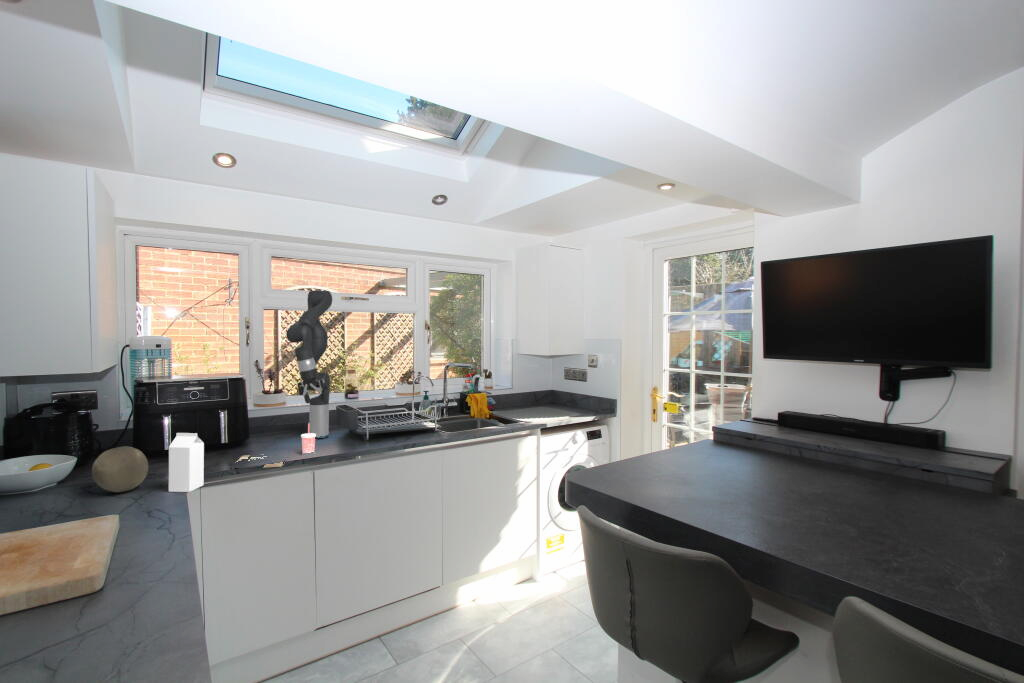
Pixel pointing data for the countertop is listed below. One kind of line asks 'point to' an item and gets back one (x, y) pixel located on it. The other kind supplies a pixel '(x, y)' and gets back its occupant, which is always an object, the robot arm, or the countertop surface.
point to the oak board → (262, 458)
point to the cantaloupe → (120, 469)
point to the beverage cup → (308, 442)
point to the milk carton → (186, 463)
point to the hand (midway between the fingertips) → (316, 402)
